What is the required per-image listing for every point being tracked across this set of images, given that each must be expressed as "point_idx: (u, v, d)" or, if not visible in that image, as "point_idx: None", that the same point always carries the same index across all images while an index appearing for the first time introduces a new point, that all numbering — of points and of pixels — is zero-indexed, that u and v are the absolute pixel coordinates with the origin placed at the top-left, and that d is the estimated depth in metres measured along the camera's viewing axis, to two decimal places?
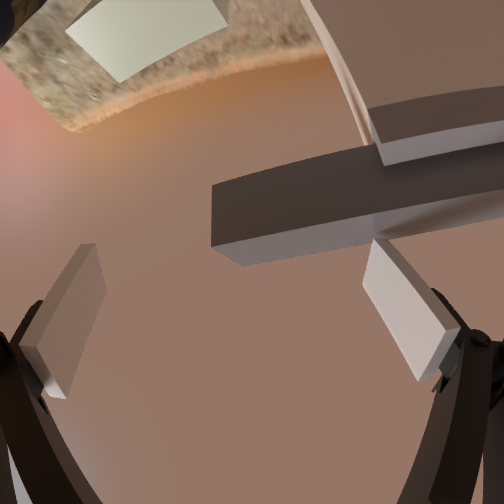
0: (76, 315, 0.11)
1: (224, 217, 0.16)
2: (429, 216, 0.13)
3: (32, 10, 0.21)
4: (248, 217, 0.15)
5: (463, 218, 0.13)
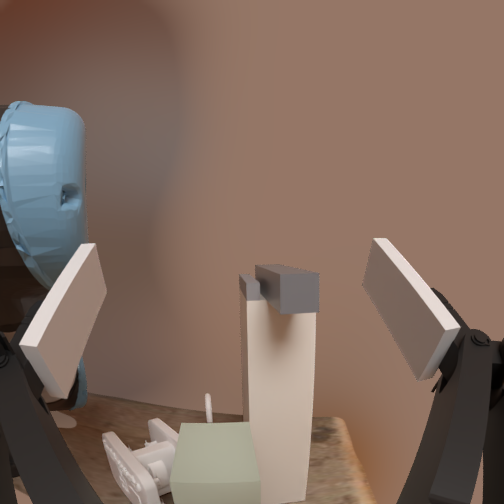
0: (76, 315, 0.11)
1: (278, 289, 0.28)
2: None
3: None
4: (276, 284, 0.29)
5: None
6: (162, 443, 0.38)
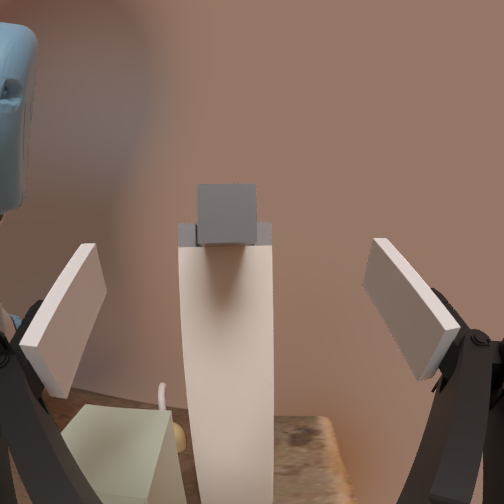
0: (76, 315, 0.11)
1: None
2: None
3: None
4: None
5: None
6: None
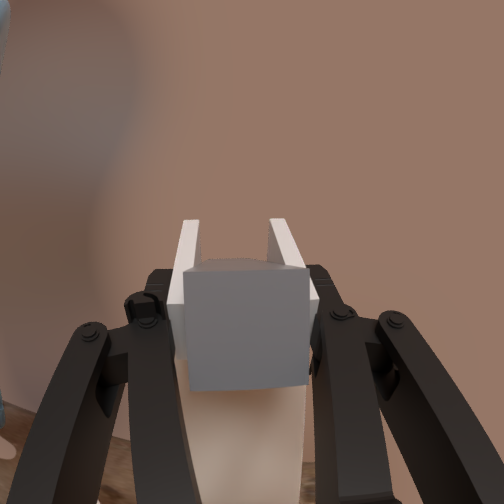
0: None
1: None
2: (227, 261, 0.19)
3: None
4: None
5: None
6: None
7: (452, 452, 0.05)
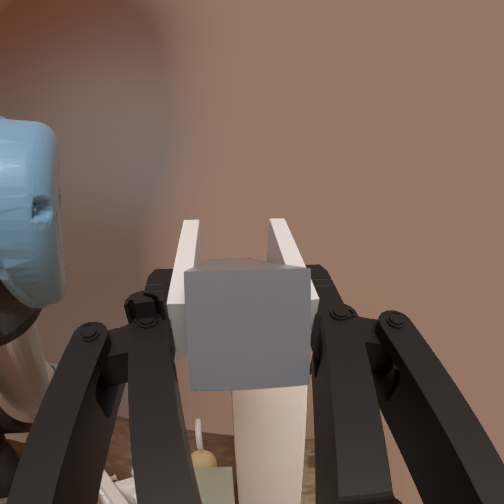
0: None
1: None
2: (228, 261, 0.19)
3: None
4: None
5: None
6: None
7: (452, 451, 0.05)
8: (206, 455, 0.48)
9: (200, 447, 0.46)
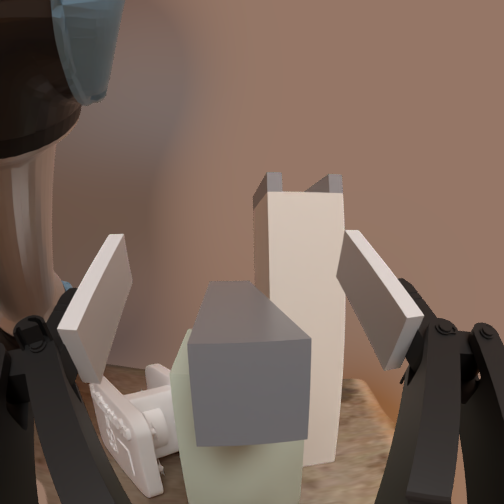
0: (109, 302, 0.12)
1: None
2: (229, 295, 0.19)
3: None
4: None
5: (244, 290, 0.21)
6: (161, 387, 0.34)
7: None
8: None
9: None
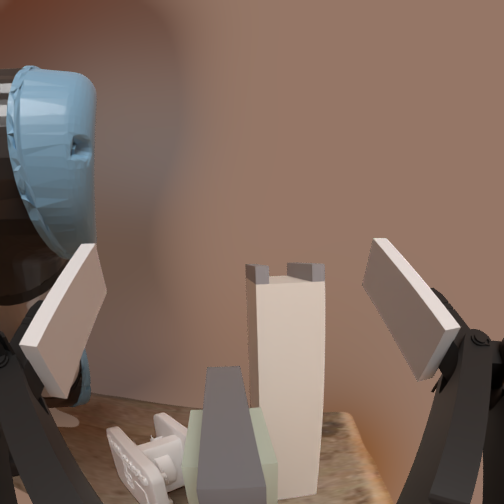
0: (76, 315, 0.11)
1: None
2: (221, 406, 0.23)
3: None
4: None
5: (233, 395, 0.25)
6: (169, 437, 0.38)
7: None
8: None
9: None
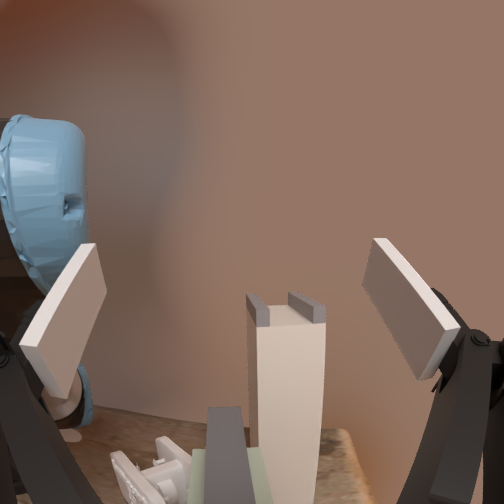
0: (76, 315, 0.11)
1: None
2: (223, 457, 0.22)
3: None
4: None
5: (234, 444, 0.24)
6: (171, 462, 0.37)
7: None
8: None
9: None
